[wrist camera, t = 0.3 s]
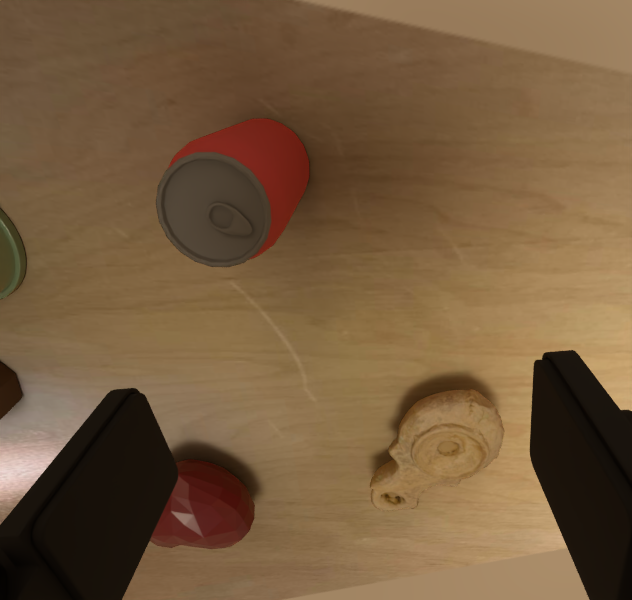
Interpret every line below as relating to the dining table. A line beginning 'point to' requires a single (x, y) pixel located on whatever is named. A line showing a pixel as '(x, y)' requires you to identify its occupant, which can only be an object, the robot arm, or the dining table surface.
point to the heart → (205, 508)
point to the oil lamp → (438, 447)
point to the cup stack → (10, 257)
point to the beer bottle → (8, 390)
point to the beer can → (232, 192)
